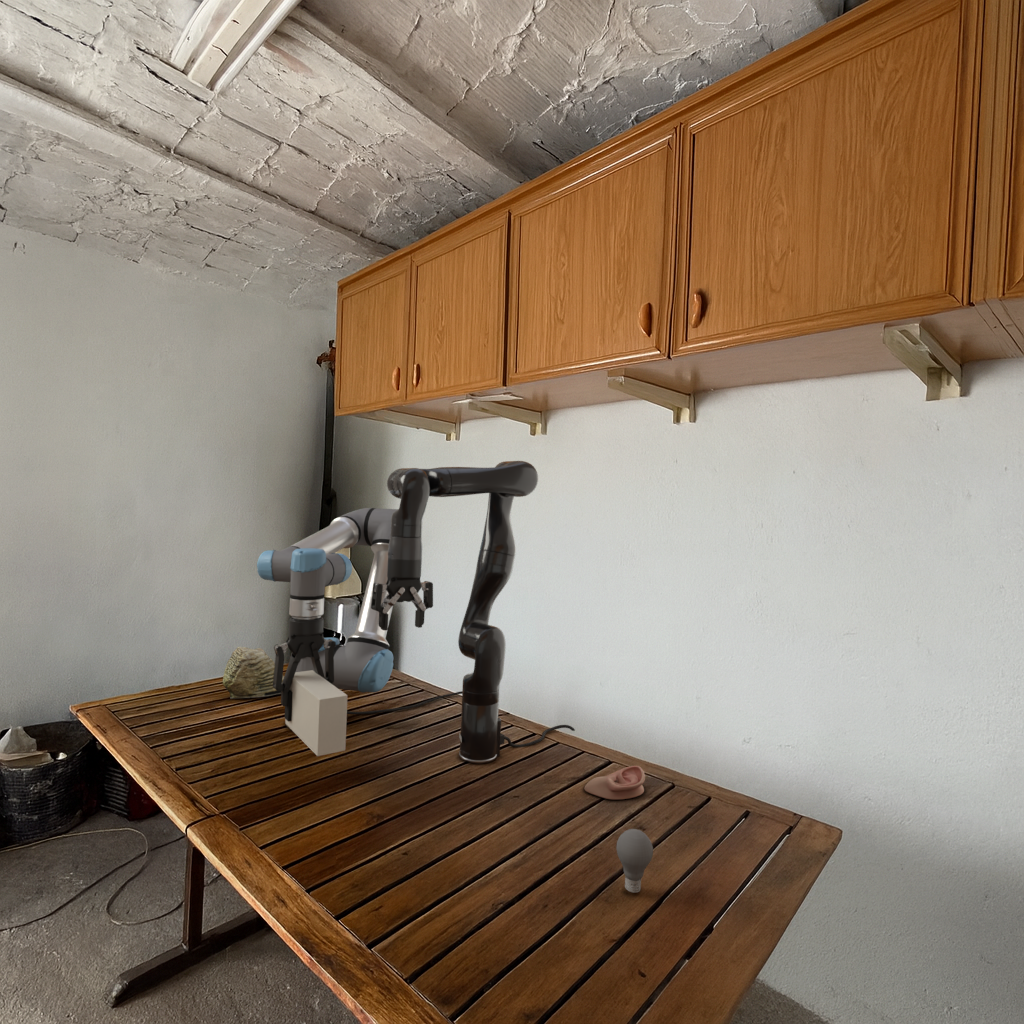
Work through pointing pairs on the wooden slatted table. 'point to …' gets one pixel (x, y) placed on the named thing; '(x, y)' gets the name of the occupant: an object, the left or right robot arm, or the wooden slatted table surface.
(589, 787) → the anatomical model
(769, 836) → the wooden slatted table surface
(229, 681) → the fossil
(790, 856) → the wooden slatted table surface
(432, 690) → the wooden slatted table surface
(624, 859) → the light bulb
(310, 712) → the box
